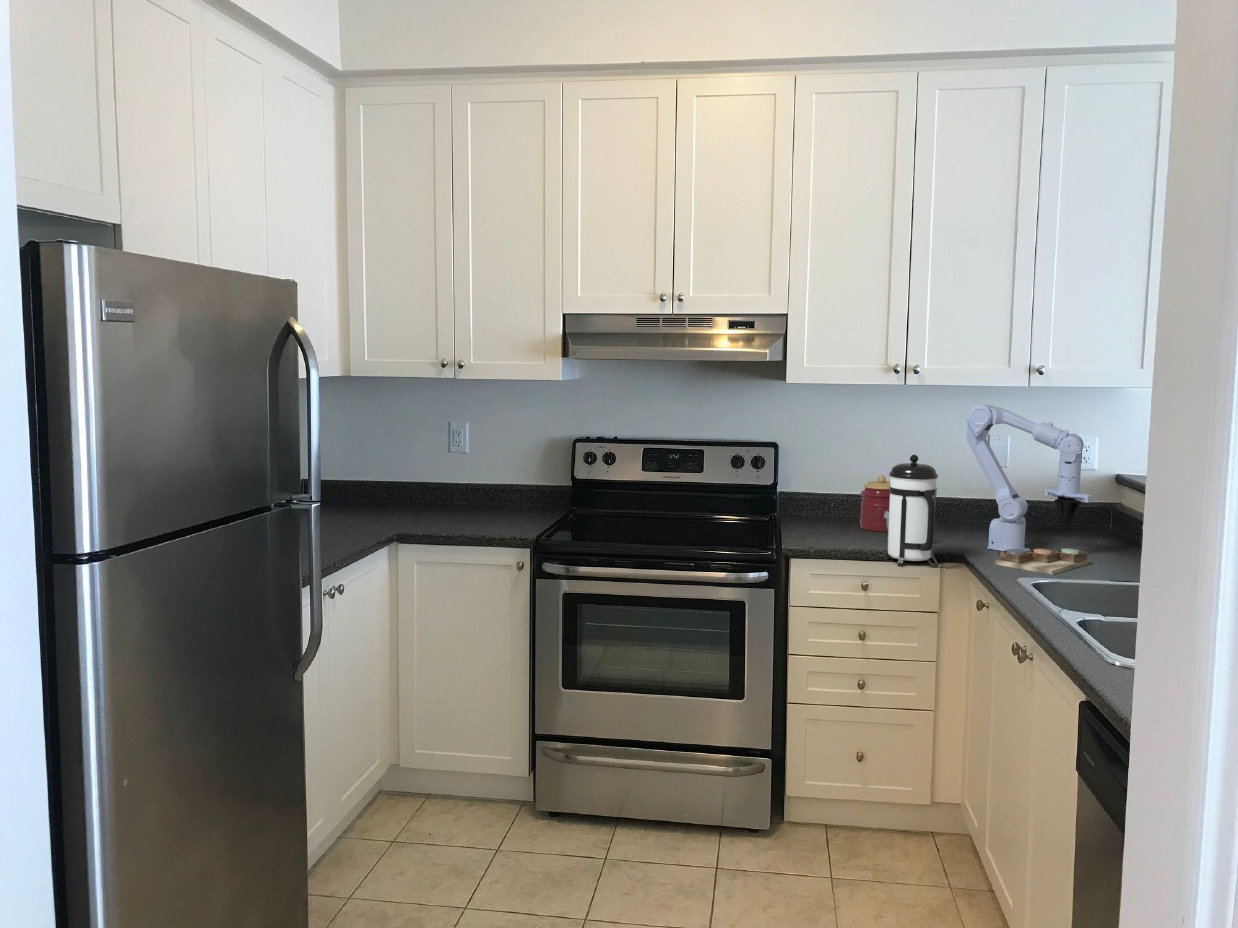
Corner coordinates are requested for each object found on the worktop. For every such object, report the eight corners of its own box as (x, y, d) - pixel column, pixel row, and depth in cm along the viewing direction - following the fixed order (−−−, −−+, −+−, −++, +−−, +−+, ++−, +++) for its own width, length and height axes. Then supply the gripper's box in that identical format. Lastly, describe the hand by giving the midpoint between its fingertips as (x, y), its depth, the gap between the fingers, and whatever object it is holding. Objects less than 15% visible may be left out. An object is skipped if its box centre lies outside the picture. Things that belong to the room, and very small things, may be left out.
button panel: (995, 564, 266) (995, 552, 266) (1032, 554, 279) (1033, 542, 279) (1052, 574, 254) (1052, 562, 254) (1088, 563, 267) (1089, 551, 267)
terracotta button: (1030, 559, 267) (1031, 549, 267) (1038, 557, 270) (1039, 547, 269) (1046, 561, 263) (1046, 552, 263) (1053, 559, 266) (1054, 550, 266)
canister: (893, 525, 325) (895, 473, 323) (905, 532, 312) (907, 478, 310) (855, 524, 325) (857, 472, 323) (865, 532, 312) (867, 478, 310)
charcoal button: (1003, 559, 266) (1003, 550, 266) (1011, 557, 269) (1011, 548, 269) (1018, 562, 263) (1018, 552, 262) (1026, 560, 266) (1026, 550, 265)
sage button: (1058, 558, 268) (1058, 549, 267) (1065, 556, 270) (1066, 547, 270) (1073, 561, 264) (1074, 552, 264) (1081, 559, 267) (1081, 550, 267)
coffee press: (870, 562, 267) (874, 455, 263) (896, 554, 279) (901, 450, 275) (930, 572, 255) (935, 460, 252) (955, 563, 267) (960, 455, 264)
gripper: (1038, 474, 279) (1035, 520, 281) (1081, 480, 266) (1078, 529, 268) (1055, 473, 282) (1052, 519, 284) (1099, 479, 269) (1095, 527, 271)
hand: (1066, 524), depth 276 cm, fingers closed
